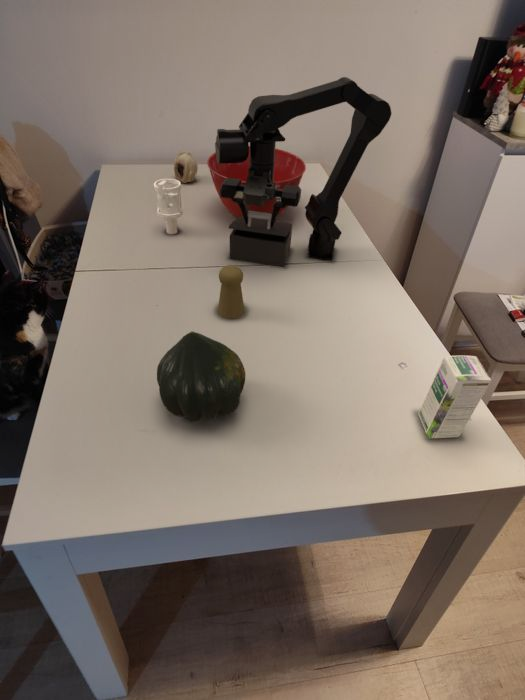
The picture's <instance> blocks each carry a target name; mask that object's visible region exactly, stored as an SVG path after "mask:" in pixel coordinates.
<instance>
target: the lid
mask: <svg viewBox="0 0 525 700" xmlns="http://www.w3.org/2000/svg"><path fill="white" fill-rule="evenodd" d="M271 219H272V214H271V213H263V212H256V211H248V224H246V223H245V220H244V217H243V216H239V217H238V218H237V217H235V219H234V220H233V221H232V222H231V223H230V224H229V225H228V229H230V230H233V229H236V230H243V231H250V232H257V233H264V234H271V235H278V236H285V237H286V236H287V234H288V233H289V231H290V229H291V228H292V229H293V223H292V222H284V221H278V220H275V222H274V225H273V227H272V228H271Z"/></svg>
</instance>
